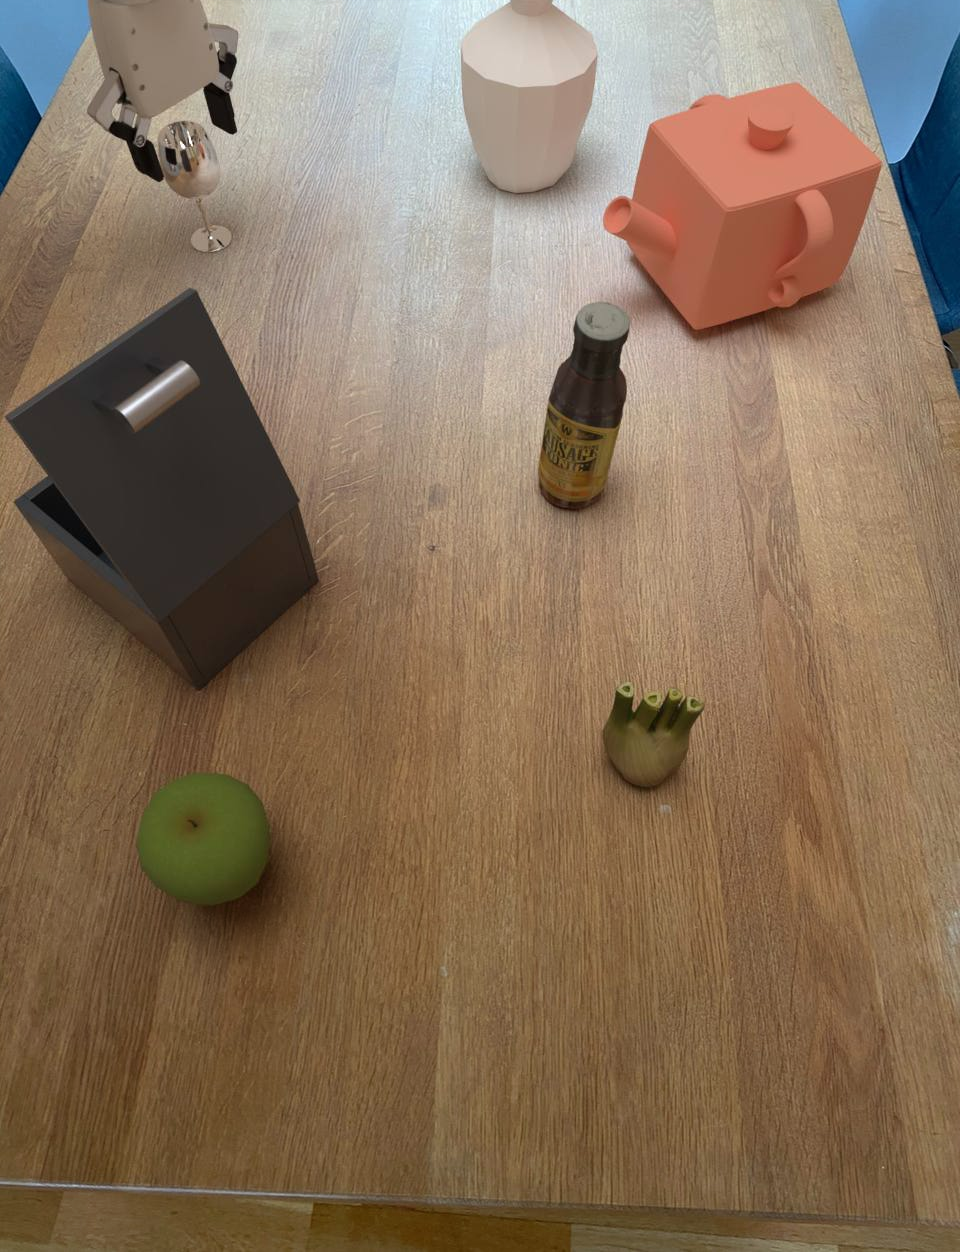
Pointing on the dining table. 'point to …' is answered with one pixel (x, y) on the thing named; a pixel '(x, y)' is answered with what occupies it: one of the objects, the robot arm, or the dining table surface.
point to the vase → (527, 92)
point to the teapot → (746, 202)
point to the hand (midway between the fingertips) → (189, 151)
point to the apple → (204, 839)
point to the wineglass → (193, 175)
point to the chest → (206, 619)
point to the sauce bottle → (585, 409)
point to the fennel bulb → (649, 734)
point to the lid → (160, 453)
